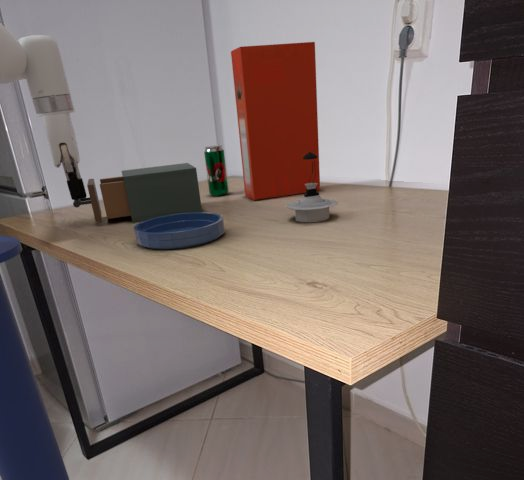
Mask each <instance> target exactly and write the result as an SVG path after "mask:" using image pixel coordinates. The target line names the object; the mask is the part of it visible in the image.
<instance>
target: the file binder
mask: <svg viewBox="0 0 524 480" xmlns="http://www.w3.org/2000/svg"><path fill="white" fill-rule="evenodd" d="M230 56H231V57H230V58H231V65H232V77H233V87H234V97H235V106H236V107H235V108H236V117H237V127H238V136H239V145H240V146H239V147H240V156H241V166H242V167H241V168H242V175H243V176H242V177H243V187H244V195H245V198H248V199H250V200H252V201H260V200H266V199H272V198H280V197H286V196H293V195H301V194H306V192H307V191H306V189H307V187H306V186H305V184H307V183H318V184H317V186H316V188H317V192H320V191H321V176H320V172H321V171H320V147H319V121H318V120H319V118H318V117H319V116H318V91H317V63H316V41H307V42H292V43H277V44H262V45H261V44H260V45H259V44H258V45H243V46H239V47H237V48H235V49H233V50H231V51H230ZM309 151H310V152H311V153H313V154H315V155H317V158H316V159H303V157H304V156H305V155H306V154H307V153H309ZM314 160H315V165H314ZM312 162H313V164H312ZM312 166H313V174H312ZM315 172H316V177H315ZM311 176H312V177H311ZM310 177H311V178H310ZM314 178H315V179H314ZM313 179H314V180H313ZM309 180H310V182H309Z"/></svg>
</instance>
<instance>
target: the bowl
mask: <svg viewBox="0 0 524 480" xmlns="http://www.w3.org/2000/svg"><path fill="white" fill-rule="evenodd" d="M225 228H226V227H225V219H224V216H223V215H221V214H219V213H215V212H208V211H207V212H205V211H202V212H192V213H180V214H172V215H166V216H160V217H156V218H152V219H149V220H144V221H139V222H138V223H136V224H135V225H134V226H133V232H134V236H135V237H134V238H135V242H136V245H137V244H138V245H139V246H140V247H144V248H147V249H150V250H151V249H152V250H177V249H186V248H192V247H197V246H202V245H204V244H208V243H210V242H213V241H215V240H217V239H218V238H220V237H221V236H222V235H224V234H225V231H226V229H225Z"/></svg>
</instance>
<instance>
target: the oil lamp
mask: <svg viewBox="0 0 524 480" xmlns="http://www.w3.org/2000/svg"><path fill="white" fill-rule="evenodd" d="M316 158H317V155H315V154H313V153H311V152H310V151H309V153H307V154H306V155H305V156H304V157H303V159H316ZM312 164H313V162H312ZM314 165H315V160H314ZM312 174H313V166H312ZM311 177H312V176H311ZM311 177H310V178H311ZM315 177H316V172H315ZM314 179H315V178H314ZM314 179H313V180H314ZM309 182H310V180H309ZM317 184H318V183H307V184H305V186H306V187H307V189H306V191H307V192H306V193H303V197H302V198H301V199H299V200H296V201H292V202H290V203H288V204H286V209H289V210H294V213H295V214H294V215H295V221H297V222H300V223H316V222H323V221H327V220H328V219H330V207H334V206H337V205H338V204H339V202H338V200H334V199H329V198H323V197H321V195H320V192H319V191H317V188H316V186H317Z"/></svg>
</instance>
